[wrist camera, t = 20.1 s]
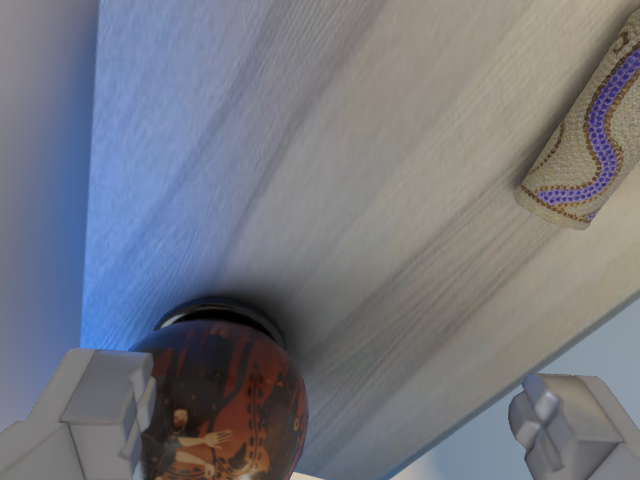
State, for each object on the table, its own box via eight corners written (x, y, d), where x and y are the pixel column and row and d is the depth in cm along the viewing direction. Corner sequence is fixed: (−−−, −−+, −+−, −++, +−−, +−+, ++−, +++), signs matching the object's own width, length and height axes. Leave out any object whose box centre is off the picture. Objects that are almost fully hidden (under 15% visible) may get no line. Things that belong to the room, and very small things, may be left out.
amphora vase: (111, 366, 56) (-22, 660, 33) (167, 246, 46) (32, 546, 23) (261, 411, 63) (239, 683, 39) (339, 315, 53) (370, 603, 29)
